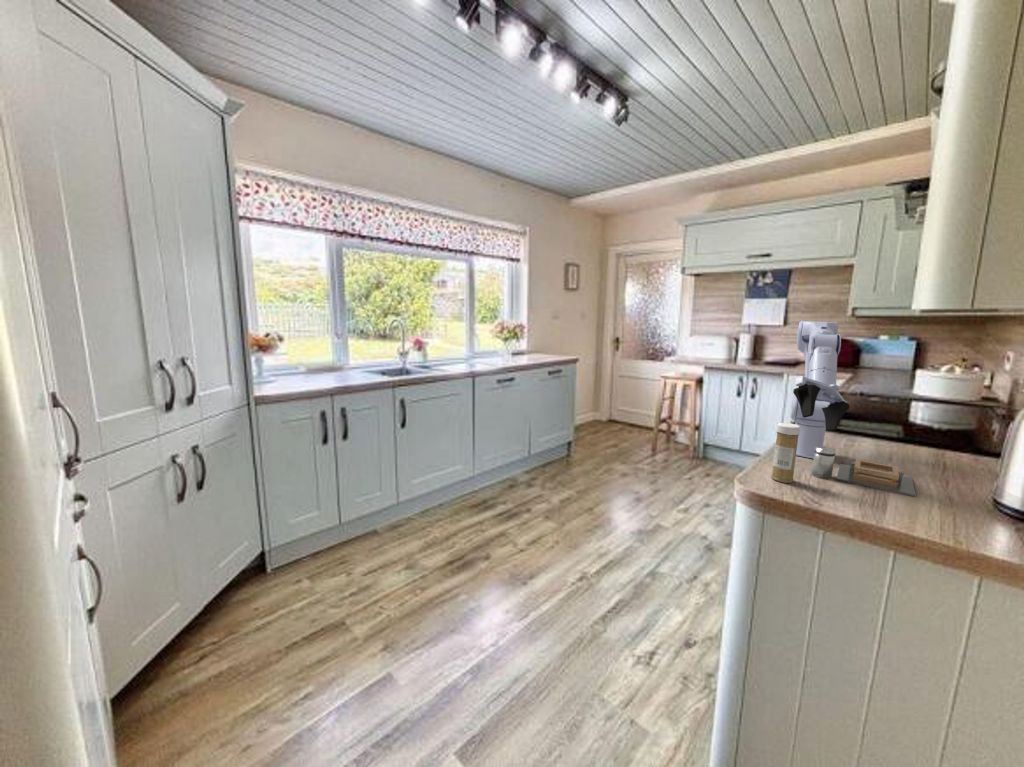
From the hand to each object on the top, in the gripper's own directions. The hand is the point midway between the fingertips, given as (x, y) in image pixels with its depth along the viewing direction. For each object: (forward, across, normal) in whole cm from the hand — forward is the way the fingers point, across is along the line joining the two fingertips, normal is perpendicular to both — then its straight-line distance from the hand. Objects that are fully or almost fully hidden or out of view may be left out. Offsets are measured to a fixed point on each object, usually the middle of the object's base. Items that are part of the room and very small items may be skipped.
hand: (819, 423), depth 105 cm
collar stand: (+6, +19, 0) cm, 20 cm away
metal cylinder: (+9, +8, +6) cm, 14 cm away
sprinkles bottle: (+15, -2, +7) cm, 16 cm away
